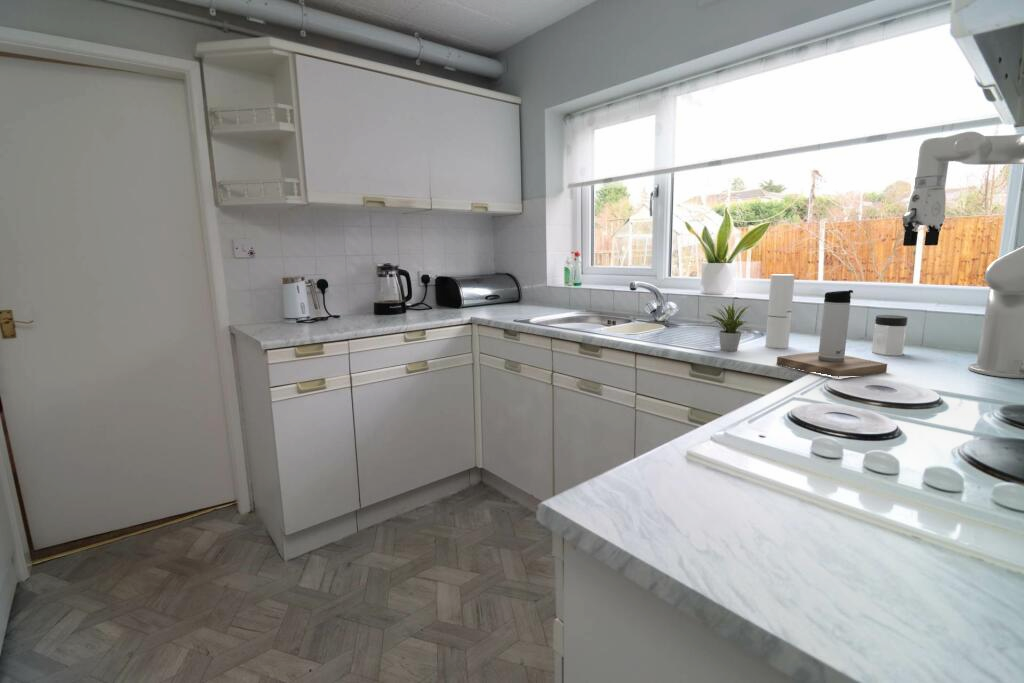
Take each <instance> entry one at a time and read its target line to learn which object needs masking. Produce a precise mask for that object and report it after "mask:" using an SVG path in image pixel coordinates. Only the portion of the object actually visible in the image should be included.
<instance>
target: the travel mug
mask: <svg viewBox="0 0 1024 683" xmlns="http://www.w3.org/2000/svg"><path fill="white" fill-rule="evenodd" d="M853 293H854V290H853V289H849V290H837V291H828V292H825V293H824V299H823V306H822V307H823V308H822V317H821V327H820V335H819V347H818V352H819V355H818V359H820V360H822V361H827V362H843V361H844V355H845V354H846V346H847V336H848V329H849V319H850V310H851V309H850V308H851V297H852V296H851V295H852V294H853ZM845 356H846V355H845Z"/></svg>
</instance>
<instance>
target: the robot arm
mask: <svg viewBox="0 0 1024 683" xmlns="http://www.w3.org/2000/svg"><path fill="white" fill-rule="evenodd" d="M949 162H958V163H961V164H964V165H975V166H976V165H981V166H982V165H988V166H989V165H1024V133H1020V134H1010V135H1009V134H1008V135H1007V134H1006V135H983V134H982V133H980V132H976V131H965V132H960V133H956V134H953V135H949V136H943V137H939V136H938V137H933V138H932V137H931V138H927V139H923V140H921V141H919V142H918V143H917V145H916V148H915V157H914V164H913V165H914V166H913V174H912V180H911V188H910V196H909V199H908V204H907V209H906V213H904V214H903V215H902V217H901V218H902V227H903V232H904V236H903V240H902V241H903V242H902V246H904V247H916V246H917V242H918V235H919V231H918V228H919V227H920V226H925V227H926V229H927V231H926V232H925V238H924V246H938V244H939V239H940V232H941V230H942V226H944V222H945V219H946V216H945V215H946V214H945V213H946V202H947V200H946V199H947V197H946V184H947V177H948V176H947V175H948V170H949V169H948V168H949V164H950V163H949ZM984 272H985V273H984V281H985V283H986V285H987V286H988V287H989V292H988V295H987V300H986V305H985V311H984V318H983V322H982V323H983V324H982V329H981V333H980V334H981V336H980V340H979V348H978V353H977V360H976V363H970V364H969V365H968V370H969V371H971V372H974V373H977V374H981V375H986V376H992V377H999V378H1011V379H1024V245H1022V246H1021V247H1019V248H1016V249H1015V250H1013V251H1011V252H1009V253H1007V254H1004V255H1002V256H1001V257H999V258H997V259H995V260H994V261H993V262H990V264H988V267H987V268H986V269H985V271H984Z"/></svg>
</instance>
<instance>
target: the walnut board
mask: <svg viewBox="0 0 1024 683" xmlns="http://www.w3.org/2000/svg"><path fill="white" fill-rule="evenodd" d="M818 355H819V351H813V352H805V353H797V354H789V355H782V356H781V355H780V356H777V357H776V365H777V364H778V365H777V366H779V365H782V366H781V367H783V366H787V367H790V368H789V369H791V368H795V369H800V370H804V371H807V372H806V373H808V372H816V373H821V374H827V375H831V376H838V377H839V376H861V377H866V376H872V375H874V376H875V375H879V374H886V373H887V371H888V370H887V369H888V363H886V362H880V361H876V360H870V359H864V358H861V357H856V356H855V357H854V356H850V355H844V361H843V362H827V361H822V360H820V359H818ZM787 367H786V368H787ZM795 369H794V370H795ZM800 370H799V371H800ZM804 371H803V372H804Z"/></svg>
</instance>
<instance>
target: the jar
mask: <svg viewBox="0 0 1024 683" xmlns="http://www.w3.org/2000/svg"><path fill="white" fill-rule="evenodd" d="M874 322H875V323H874V328H873V337H872V338H873V339H872V344H871V345H872V346H871V353H873V354H876V355H877V354H878V355H883V356H902V355H903V354H904V350H905V340H906V333H907V327H908V325H907V324H908V317H907V316H904V315H895V314H894V315H893V314H879V315H876V316H875V320H874Z"/></svg>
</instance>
